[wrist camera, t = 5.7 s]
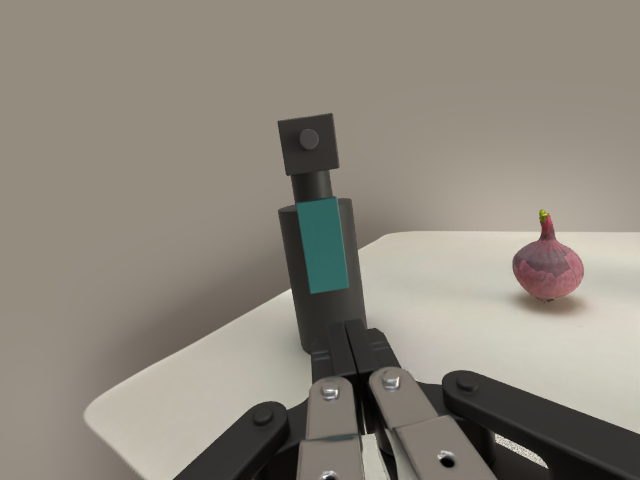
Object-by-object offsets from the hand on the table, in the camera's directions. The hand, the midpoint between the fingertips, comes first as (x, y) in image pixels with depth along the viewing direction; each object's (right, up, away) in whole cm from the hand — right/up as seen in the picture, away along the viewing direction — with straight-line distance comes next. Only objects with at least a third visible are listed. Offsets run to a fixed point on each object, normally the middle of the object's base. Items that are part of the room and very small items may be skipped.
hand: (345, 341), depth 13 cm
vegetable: (+23, -3, +20) cm, 31 cm away
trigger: (0, 0, +12) cm, 12 cm away
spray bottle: (+1, -7, +17) cm, 18 cm away
